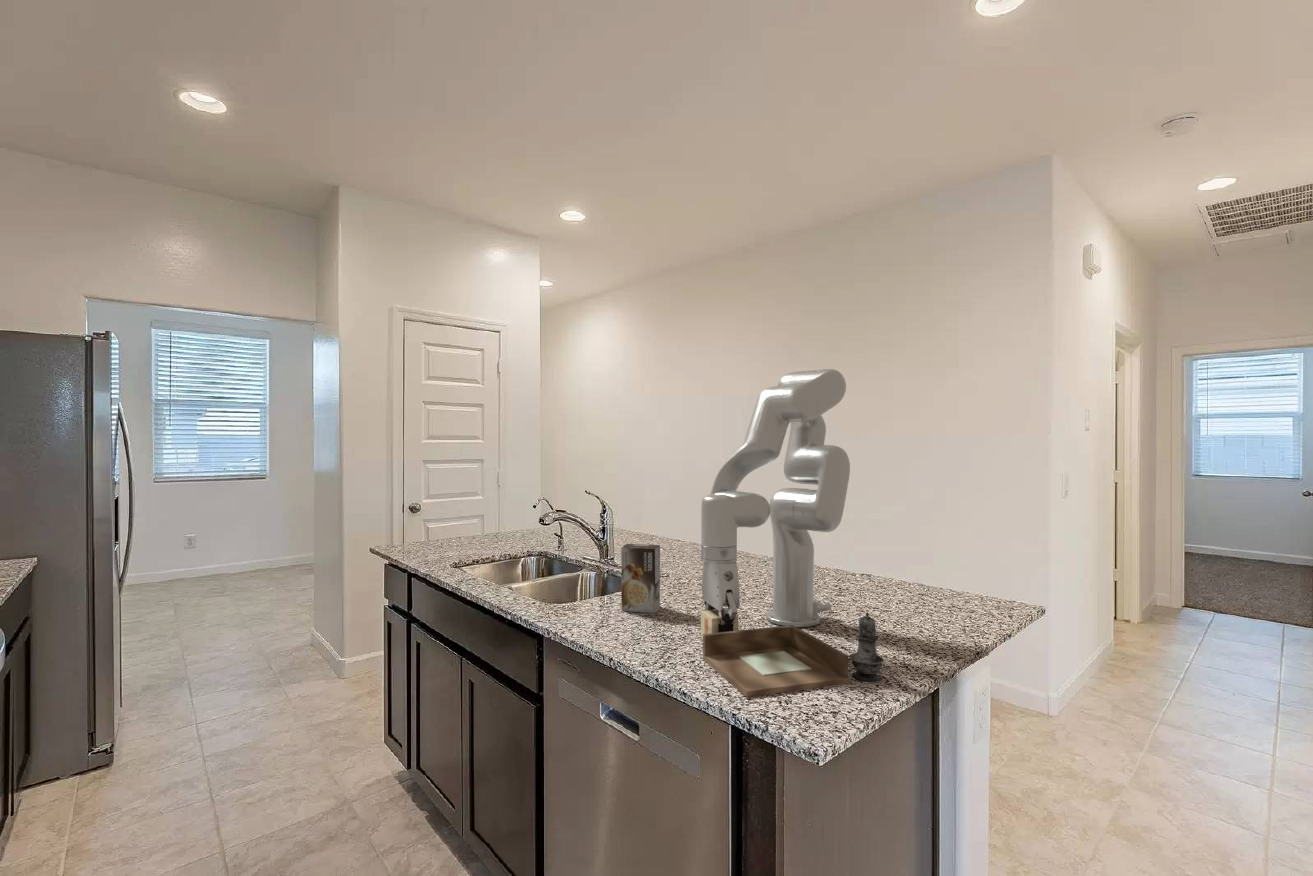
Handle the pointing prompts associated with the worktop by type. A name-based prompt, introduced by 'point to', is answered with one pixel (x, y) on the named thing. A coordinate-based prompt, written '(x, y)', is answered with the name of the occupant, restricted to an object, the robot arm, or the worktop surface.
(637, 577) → the coffee box
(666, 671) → the worktop surface
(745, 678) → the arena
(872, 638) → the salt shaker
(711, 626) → the maple cube
